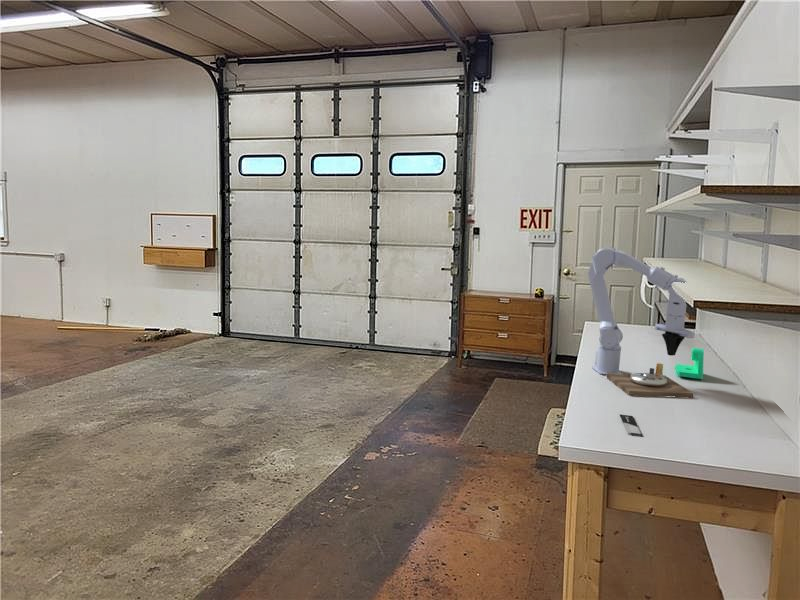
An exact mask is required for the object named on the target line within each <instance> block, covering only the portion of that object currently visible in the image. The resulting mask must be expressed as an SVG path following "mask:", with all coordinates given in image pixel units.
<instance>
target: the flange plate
mask: <svg viewBox="0 0 800 600" xmlns="http://www.w3.org/2000/svg"><path fill="white" fill-rule="evenodd" d="M663 370H664V364H663V363H659V362H658V363H656V368H655V372H654V374H650V373H649V372H635V373H634V372H633V373H630V374H631V375H630V380H631V381H633V382H635V383H638V384H642V385H648V386H664V385H666V384H667V379H666V378H664V377H662V376H663V375H664V374H663V372H664V371H663Z"/></svg>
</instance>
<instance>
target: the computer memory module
mask: <svg viewBox="0 0 800 600" xmlns="http://www.w3.org/2000/svg"><path fill="white" fill-rule="evenodd" d="M618 414H619V413H618ZM619 417H620V419H621V422H622V424H623V426H624V428H625V432H626V433H627V435H628V436H632V437H640V438H644V437H645V436H644V434H643V432H642V430H641V429H640V426H639V424H638V422H637V420H636V417H634V416H633V415H628V414H619ZM637 424H638V425H637Z"/></svg>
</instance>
